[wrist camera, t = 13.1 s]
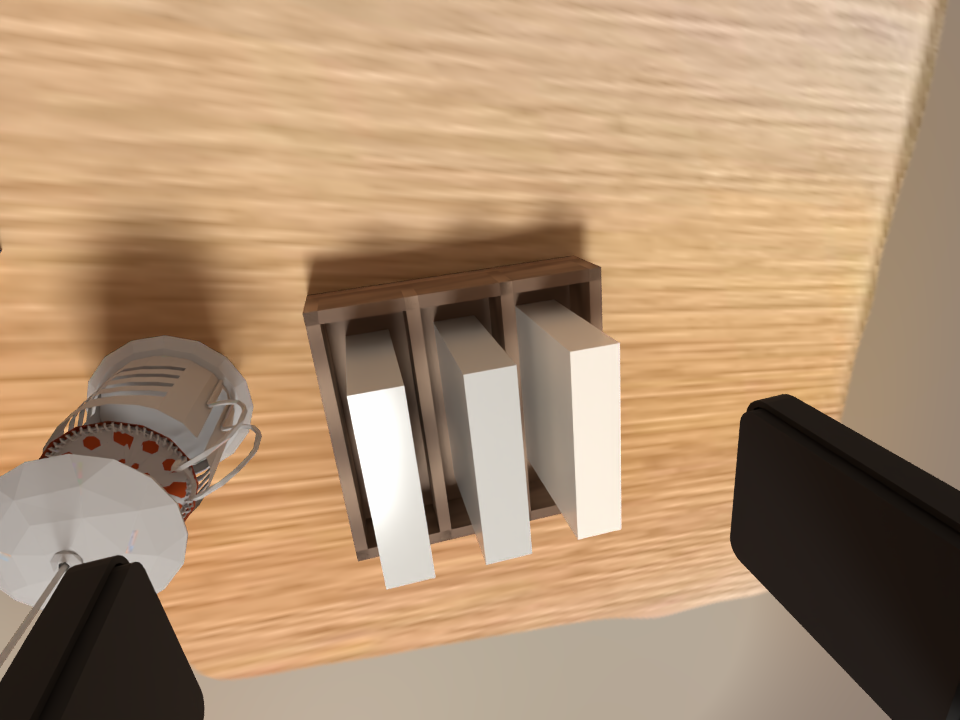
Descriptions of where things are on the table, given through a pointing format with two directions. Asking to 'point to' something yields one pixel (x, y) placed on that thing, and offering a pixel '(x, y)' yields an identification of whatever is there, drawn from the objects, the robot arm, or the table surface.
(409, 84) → the table surface
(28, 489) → the french press
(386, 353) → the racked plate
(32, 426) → the table surface
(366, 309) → the rack
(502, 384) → the racked plate mid
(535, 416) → the plate
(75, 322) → the table surface
